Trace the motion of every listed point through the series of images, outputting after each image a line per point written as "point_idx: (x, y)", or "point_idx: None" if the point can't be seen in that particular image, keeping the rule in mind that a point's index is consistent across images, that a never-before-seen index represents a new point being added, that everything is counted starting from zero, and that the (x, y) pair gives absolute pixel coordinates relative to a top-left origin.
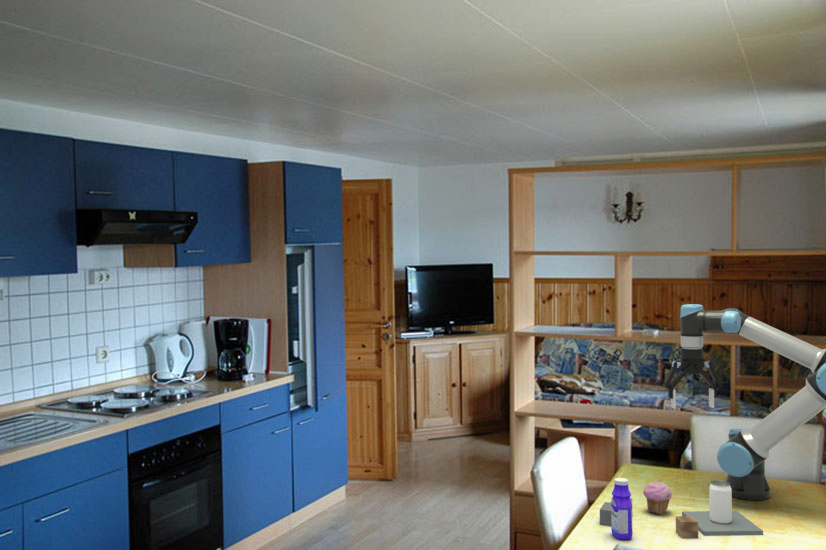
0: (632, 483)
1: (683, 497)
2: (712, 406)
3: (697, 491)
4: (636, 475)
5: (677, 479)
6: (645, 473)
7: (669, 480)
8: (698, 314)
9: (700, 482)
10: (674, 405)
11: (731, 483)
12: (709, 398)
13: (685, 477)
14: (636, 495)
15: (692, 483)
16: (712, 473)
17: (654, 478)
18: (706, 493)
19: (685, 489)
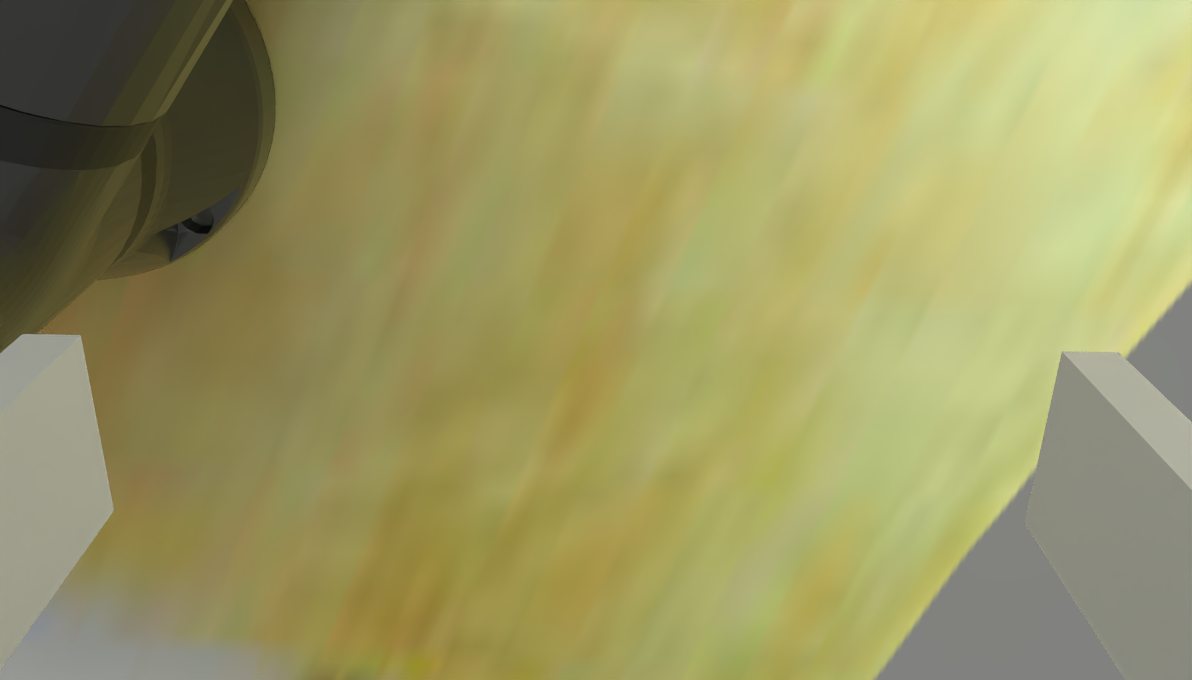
0: (936, 408)
1: (678, 24)
2: (51, 354)
3: (491, 180)
4: (812, 588)
5: (535, 483)
6: (722, 628)
7: (609, 464)
8: None
9: (379, 404)
10: (1129, 388)
11: (206, 52)
12: (5, 615)
13: (453, 526)
14: (1057, 103)
15: (454, 383)
16: (208, 604)
17: (706, 515)
18: (435, 122)
19: (572, 238)
